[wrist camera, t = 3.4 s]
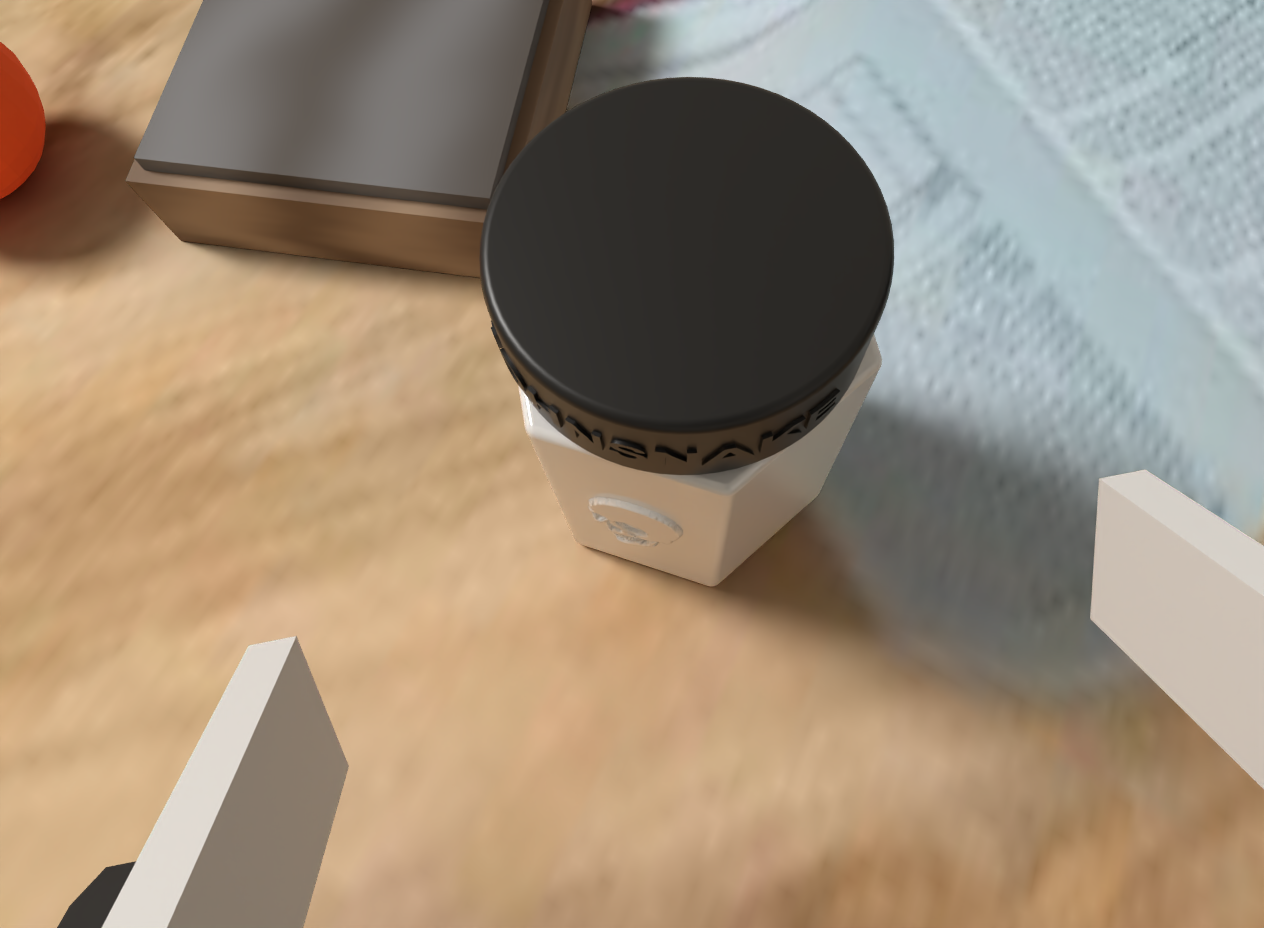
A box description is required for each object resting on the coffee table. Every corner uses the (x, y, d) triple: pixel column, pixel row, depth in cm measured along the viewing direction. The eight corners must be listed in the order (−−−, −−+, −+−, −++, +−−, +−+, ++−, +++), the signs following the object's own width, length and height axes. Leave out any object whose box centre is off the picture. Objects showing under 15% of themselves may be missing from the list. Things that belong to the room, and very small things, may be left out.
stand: (592, 4, 35) (581, -90, 31) (523, 283, 30) (501, 213, 27) (287, -23, 36) (241, -116, 32) (180, 240, 32) (113, 168, 28)
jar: (508, 529, 27) (387, 356, 16) (595, 312, 30) (543, 32, 19) (782, 619, 26) (860, 498, 15) (850, 384, 29) (960, 127, 17)
